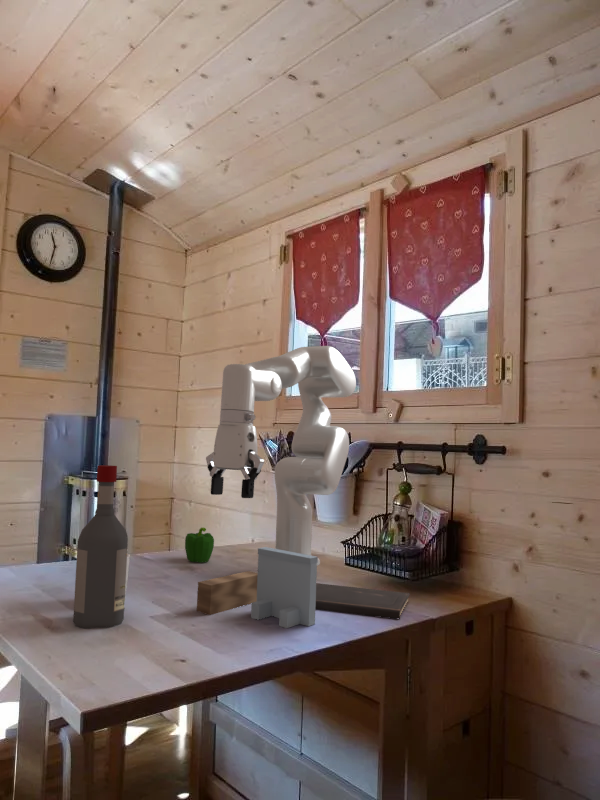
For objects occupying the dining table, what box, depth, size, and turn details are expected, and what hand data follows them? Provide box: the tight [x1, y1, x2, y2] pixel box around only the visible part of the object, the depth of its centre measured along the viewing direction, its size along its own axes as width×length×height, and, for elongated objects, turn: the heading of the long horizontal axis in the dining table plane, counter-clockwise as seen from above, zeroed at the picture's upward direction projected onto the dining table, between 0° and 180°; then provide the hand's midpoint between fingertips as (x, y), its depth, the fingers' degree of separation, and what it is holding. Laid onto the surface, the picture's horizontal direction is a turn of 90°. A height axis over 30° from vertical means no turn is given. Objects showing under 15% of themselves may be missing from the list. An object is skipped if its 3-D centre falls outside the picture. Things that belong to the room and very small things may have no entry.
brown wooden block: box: [196, 570, 258, 616], centre depth 133 cm, size 16×4×6 cm, turn 142°
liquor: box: [72, 464, 129, 629], centre depth 119 cm, size 9×9×30 cm
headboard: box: [250, 546, 319, 629], centre depth 124 cm, size 6×14×13 cm, turn 52°
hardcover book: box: [315, 582, 411, 620], centre depth 138 cm, size 16×23×2 cm
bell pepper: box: [184, 527, 215, 564], centre depth 177 cm, size 8×8×10 cm
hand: (231, 496), depth 136 cm, fingers open, 9 cm apart
